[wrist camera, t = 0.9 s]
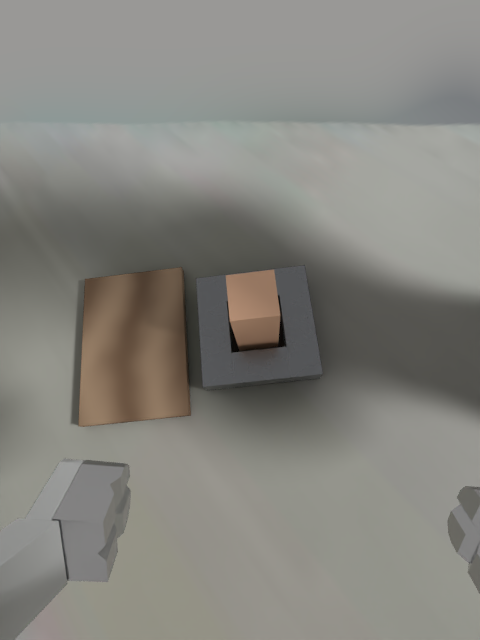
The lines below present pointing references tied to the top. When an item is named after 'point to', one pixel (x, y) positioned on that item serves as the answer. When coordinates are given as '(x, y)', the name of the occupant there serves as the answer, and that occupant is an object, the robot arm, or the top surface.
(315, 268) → the top surface
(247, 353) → the socket
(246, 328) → the peg
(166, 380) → the board
